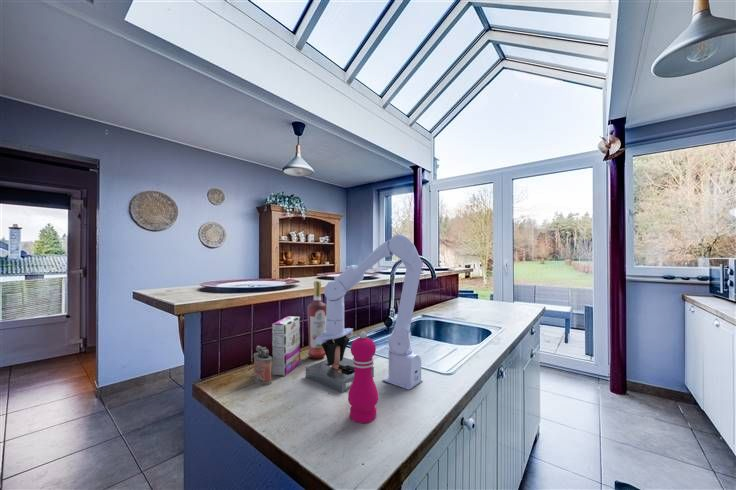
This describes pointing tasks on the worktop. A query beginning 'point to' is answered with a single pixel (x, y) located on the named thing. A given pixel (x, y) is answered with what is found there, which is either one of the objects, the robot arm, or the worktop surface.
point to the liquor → (316, 322)
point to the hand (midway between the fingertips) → (335, 361)
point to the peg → (337, 359)
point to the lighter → (262, 366)
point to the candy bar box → (285, 345)
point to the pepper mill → (363, 381)
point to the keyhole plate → (332, 374)
